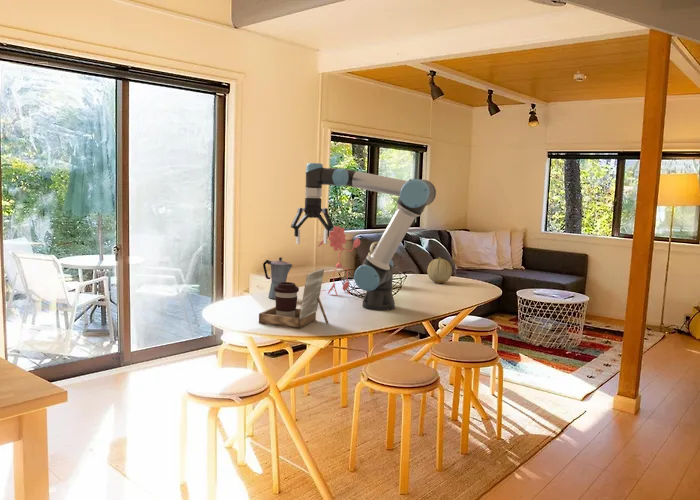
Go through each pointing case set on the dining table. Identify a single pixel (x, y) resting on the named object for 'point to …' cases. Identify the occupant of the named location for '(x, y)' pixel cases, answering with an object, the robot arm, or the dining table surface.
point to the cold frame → (307, 309)
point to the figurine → (337, 240)
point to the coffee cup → (286, 299)
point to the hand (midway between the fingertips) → (311, 243)
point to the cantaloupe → (439, 270)
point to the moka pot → (277, 273)
